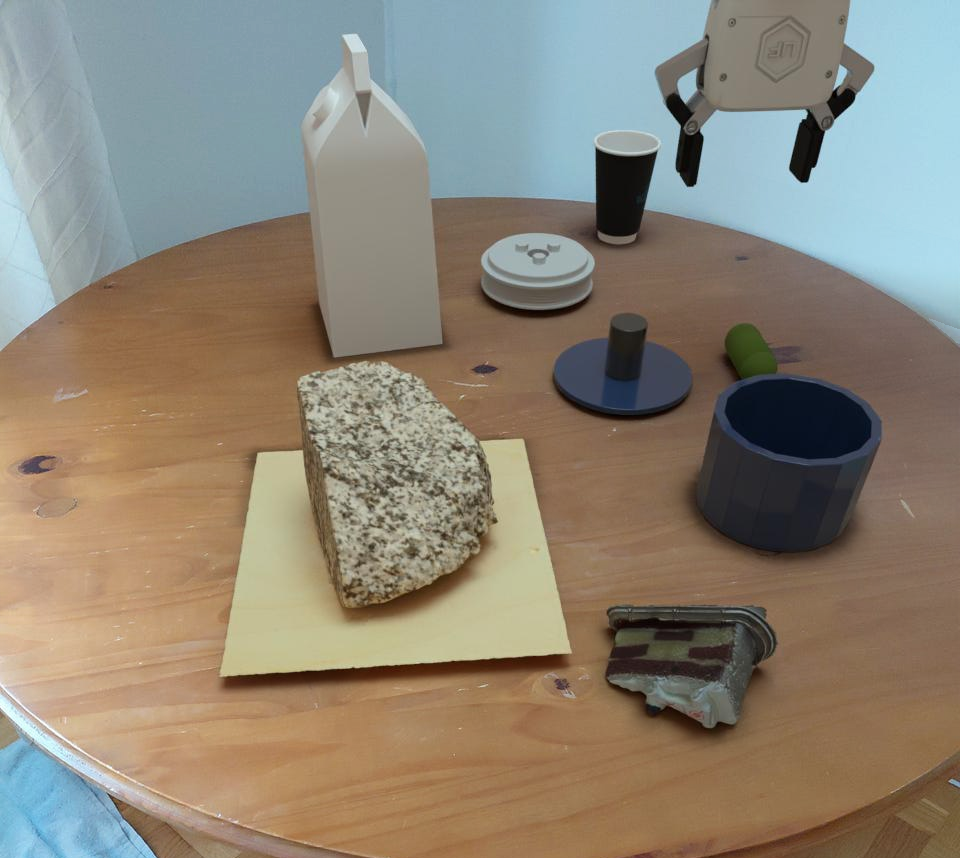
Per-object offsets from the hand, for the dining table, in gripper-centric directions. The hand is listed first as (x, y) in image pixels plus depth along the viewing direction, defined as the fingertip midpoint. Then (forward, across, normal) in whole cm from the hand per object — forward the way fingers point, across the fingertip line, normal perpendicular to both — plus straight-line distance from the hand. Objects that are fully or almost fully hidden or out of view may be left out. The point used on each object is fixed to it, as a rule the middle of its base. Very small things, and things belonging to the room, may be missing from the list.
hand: (742, 178), depth 76 cm
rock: (+19, -32, -24) cm, 44 cm away
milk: (+19, -32, +13) cm, 40 cm away
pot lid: (+18, -8, -1) cm, 20 cm away
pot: (+19, 0, -21) cm, 28 cm away
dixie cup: (+19, -2, +33) cm, 38 cm away
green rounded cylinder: (+19, +5, 0) cm, 19 cm away
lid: (+19, -14, +19) cm, 31 cm away
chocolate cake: (+19, -12, -40) cm, 46 cm away
